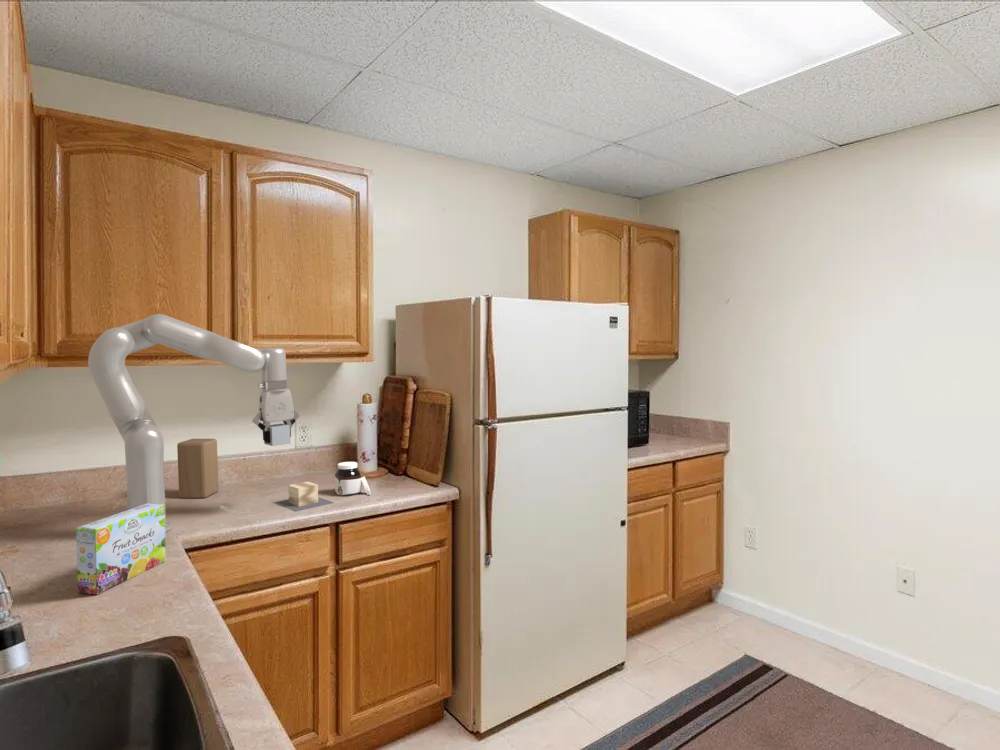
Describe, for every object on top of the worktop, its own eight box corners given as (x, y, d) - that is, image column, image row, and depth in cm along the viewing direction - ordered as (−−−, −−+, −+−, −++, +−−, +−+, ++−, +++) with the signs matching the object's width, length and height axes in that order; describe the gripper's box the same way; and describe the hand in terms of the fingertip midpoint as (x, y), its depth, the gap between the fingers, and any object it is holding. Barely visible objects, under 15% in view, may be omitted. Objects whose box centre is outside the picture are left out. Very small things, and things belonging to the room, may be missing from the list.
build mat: (295, 514, 193) (295, 511, 193) (272, 505, 204) (272, 502, 204) (334, 505, 203) (334, 502, 203) (310, 497, 214) (310, 494, 214)
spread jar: (332, 494, 218) (331, 463, 217) (360, 489, 225) (359, 458, 224) (347, 501, 208) (346, 468, 208) (376, 495, 216) (375, 463, 215)
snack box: (98, 596, 132) (95, 528, 131) (76, 594, 133) (73, 527, 132) (168, 561, 153) (165, 502, 152) (148, 560, 154) (146, 501, 153)
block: (193, 491, 224) (191, 438, 223) (219, 491, 223) (217, 438, 222) (178, 498, 214) (175, 442, 213) (205, 498, 213) (203, 442, 212)
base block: (298, 506, 199) (298, 488, 198) (288, 502, 204) (288, 485, 203) (318, 502, 204) (317, 484, 203) (308, 498, 209) (307, 481, 208)
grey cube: (272, 446, 192) (271, 427, 192) (264, 444, 196) (263, 425, 196) (290, 443, 196) (289, 425, 196) (282, 441, 200) (281, 423, 200)
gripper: (253, 388, 186) (256, 446, 187) (305, 384, 198) (307, 438, 200) (243, 387, 191) (246, 443, 193) (294, 383, 204) (296, 436, 205)
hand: (277, 440), depth 196 cm, fingers closed on grey cube, 6 cm apart
